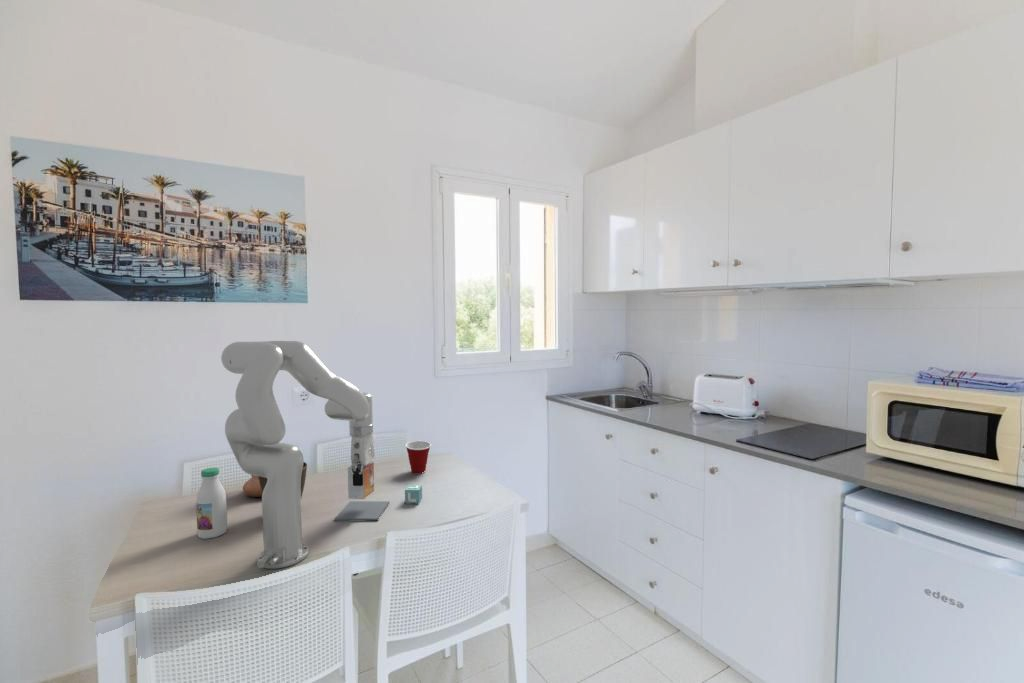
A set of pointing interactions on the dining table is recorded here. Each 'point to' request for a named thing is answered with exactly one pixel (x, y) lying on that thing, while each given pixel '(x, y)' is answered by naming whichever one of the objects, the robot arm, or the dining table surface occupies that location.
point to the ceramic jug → (252, 487)
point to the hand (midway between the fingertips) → (362, 480)
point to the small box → (368, 482)
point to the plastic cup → (418, 455)
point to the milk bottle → (211, 505)
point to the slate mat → (362, 510)
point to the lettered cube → (413, 494)
